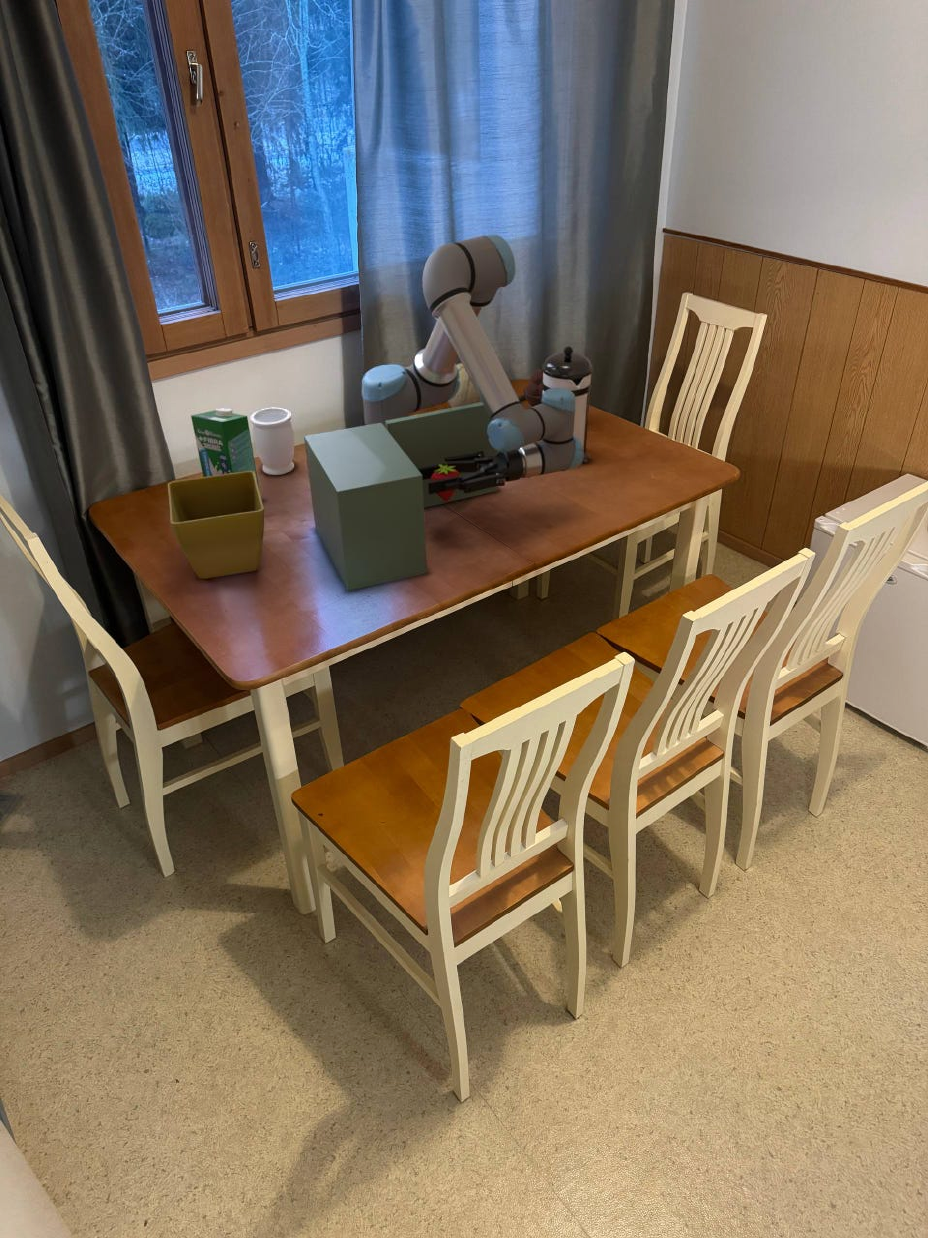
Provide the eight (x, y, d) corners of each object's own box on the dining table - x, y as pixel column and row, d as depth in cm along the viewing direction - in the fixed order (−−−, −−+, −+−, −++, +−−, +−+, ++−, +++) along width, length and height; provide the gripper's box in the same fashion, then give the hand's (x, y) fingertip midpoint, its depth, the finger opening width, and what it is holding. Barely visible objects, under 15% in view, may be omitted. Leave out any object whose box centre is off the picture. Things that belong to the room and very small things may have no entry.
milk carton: (261, 500, 231) (246, 406, 216) (239, 517, 225) (222, 421, 210) (231, 494, 234) (214, 400, 220) (209, 510, 228) (190, 414, 213)
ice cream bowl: (518, 426, 264) (519, 376, 255) (530, 411, 273) (532, 362, 264) (553, 432, 261) (555, 381, 252) (565, 416, 269) (567, 366, 260)
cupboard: (388, 514, 225) (381, 422, 211) (426, 573, 204) (422, 475, 189) (315, 529, 220) (303, 435, 205) (347, 591, 198) (337, 491, 184)
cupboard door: (382, 501, 230) (376, 411, 216) (484, 478, 239) (484, 390, 225) (393, 514, 224) (387, 423, 210) (497, 490, 233) (498, 401, 219)
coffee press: (601, 450, 251) (610, 341, 234) (574, 473, 240) (581, 361, 223) (545, 436, 259) (549, 329, 241) (516, 458, 248) (519, 348, 230)
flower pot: (275, 576, 203) (264, 509, 194) (186, 591, 199) (170, 523, 189) (264, 533, 218) (254, 469, 208) (181, 547, 214) (167, 482, 204)
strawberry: (424, 502, 212) (423, 462, 206) (448, 490, 216) (447, 451, 210) (442, 511, 208) (441, 471, 202) (466, 499, 212) (466, 459, 206)
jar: (290, 479, 240) (282, 425, 231) (252, 475, 242) (243, 422, 233) (303, 460, 249) (296, 408, 240) (267, 457, 250) (259, 405, 242)
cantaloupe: (440, 420, 268) (438, 370, 260) (449, 400, 280) (448, 351, 271) (490, 423, 266) (491, 373, 257) (497, 402, 278) (498, 354, 269)
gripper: (535, 496, 209) (439, 515, 202) (501, 460, 223) (410, 477, 216) (536, 465, 204) (438, 485, 197) (501, 431, 219) (409, 448, 212)
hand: (423, 481), depth 207 cm, fingers closed on strawberry, 6 cm apart
